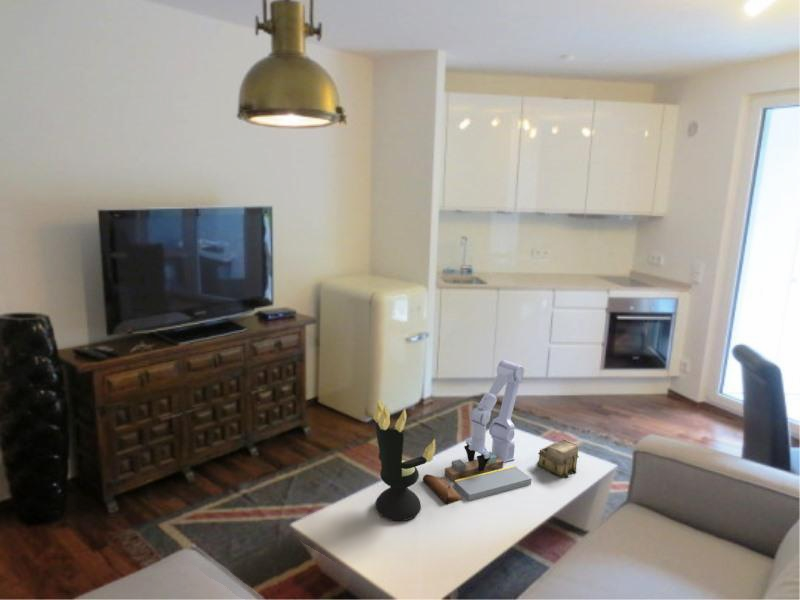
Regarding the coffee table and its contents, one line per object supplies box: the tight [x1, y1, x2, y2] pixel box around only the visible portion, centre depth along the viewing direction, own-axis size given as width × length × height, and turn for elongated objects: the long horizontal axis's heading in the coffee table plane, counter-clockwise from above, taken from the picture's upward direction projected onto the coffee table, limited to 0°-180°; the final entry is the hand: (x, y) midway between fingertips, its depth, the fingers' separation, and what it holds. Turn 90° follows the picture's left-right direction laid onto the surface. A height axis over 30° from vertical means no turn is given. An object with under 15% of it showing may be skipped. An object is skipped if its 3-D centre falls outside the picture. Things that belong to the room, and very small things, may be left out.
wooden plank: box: [444, 457, 504, 483], centre depth 232 cm, size 26×6×4 cm, turn 119°
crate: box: [450, 459, 466, 472], centre depth 227 cm, size 4×4×2 cm
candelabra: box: [373, 398, 436, 522], centre depth 197 cm, size 19×22×45 cm
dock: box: [453, 465, 532, 502], centre depth 222 cm, size 30×11×3 cm, turn 117°
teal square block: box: [487, 451, 497, 464], centre depth 235 cm, size 4×4×2 cm
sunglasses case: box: [422, 473, 463, 505], centre depth 217 cm, size 18×7×7 cm
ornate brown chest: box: [537, 438, 580, 479], centre depth 238 cm, size 15×14×11 cm
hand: (475, 466), depth 233 cm, fingers open, 7 cm apart
